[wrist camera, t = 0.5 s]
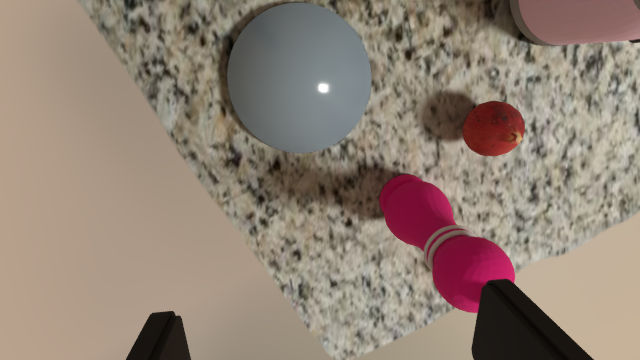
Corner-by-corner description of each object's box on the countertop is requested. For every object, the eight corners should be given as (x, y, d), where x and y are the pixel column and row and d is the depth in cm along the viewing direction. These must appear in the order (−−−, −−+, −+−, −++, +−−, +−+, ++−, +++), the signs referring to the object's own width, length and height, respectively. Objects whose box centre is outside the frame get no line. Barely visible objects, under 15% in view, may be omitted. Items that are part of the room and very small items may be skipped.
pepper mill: (440, 180, 40) (576, 279, 21) (415, 229, 42) (520, 359, 23) (389, 162, 39) (487, 253, 20) (366, 214, 41) (435, 340, 22)
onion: (446, 106, 37) (487, 116, 30) (494, 91, 37) (547, 98, 30) (453, 152, 39) (493, 173, 32) (498, 139, 39) (548, 156, 32)
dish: (244, -17, 31) (243, -20, 30) (387, 30, 34) (390, 29, 33) (217, 132, 35) (215, 134, 34) (345, 163, 38) (347, 166, 37)
